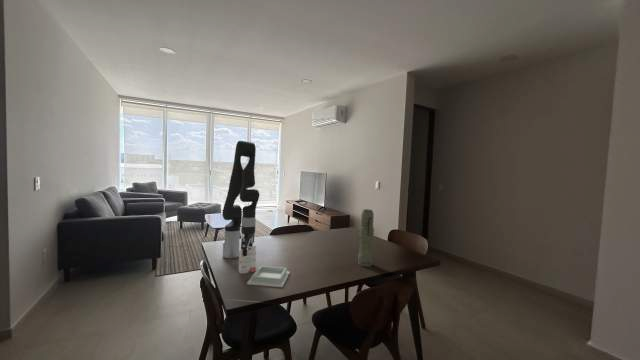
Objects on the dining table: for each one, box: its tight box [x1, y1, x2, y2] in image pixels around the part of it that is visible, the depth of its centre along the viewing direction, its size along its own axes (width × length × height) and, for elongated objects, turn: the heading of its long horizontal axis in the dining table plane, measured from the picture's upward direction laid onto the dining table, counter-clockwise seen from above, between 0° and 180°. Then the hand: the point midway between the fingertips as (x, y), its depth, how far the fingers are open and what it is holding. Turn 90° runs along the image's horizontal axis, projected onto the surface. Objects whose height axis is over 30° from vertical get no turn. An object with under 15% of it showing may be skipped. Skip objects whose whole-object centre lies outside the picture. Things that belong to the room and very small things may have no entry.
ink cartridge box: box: [238, 245, 257, 274], centre depth 148 cm, size 9×5×15 cm, turn 117°
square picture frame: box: [246, 265, 291, 288], centre depth 140 cm, size 18×18×4 cm
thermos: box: [357, 208, 375, 268], centre depth 167 cm, size 9×12×35 cm
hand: (247, 253), depth 148 cm, fingers open, 8 cm apart
